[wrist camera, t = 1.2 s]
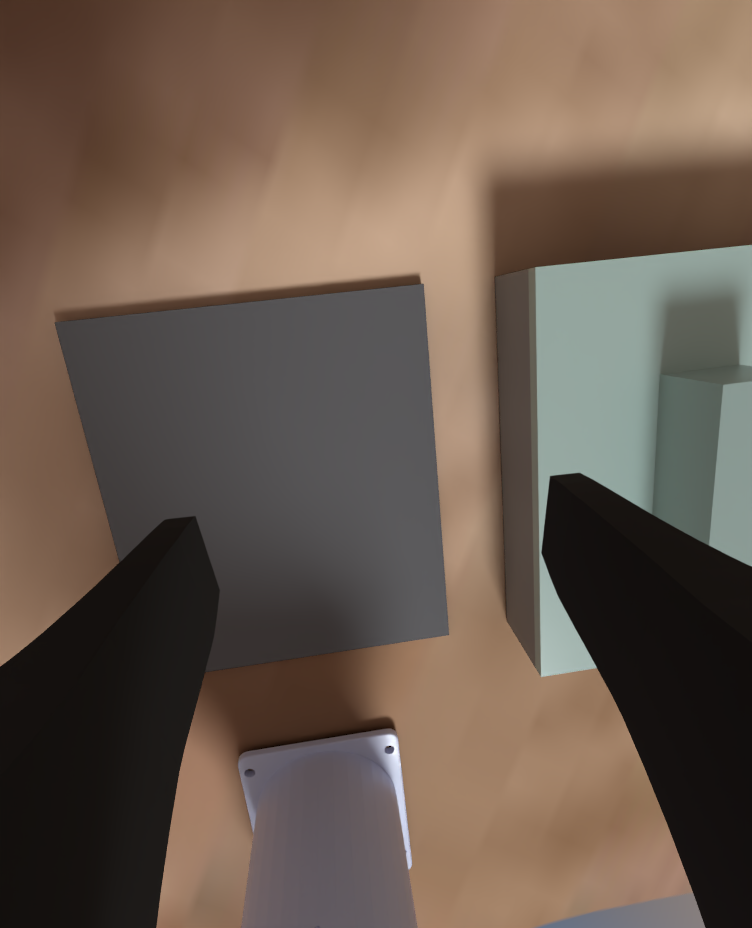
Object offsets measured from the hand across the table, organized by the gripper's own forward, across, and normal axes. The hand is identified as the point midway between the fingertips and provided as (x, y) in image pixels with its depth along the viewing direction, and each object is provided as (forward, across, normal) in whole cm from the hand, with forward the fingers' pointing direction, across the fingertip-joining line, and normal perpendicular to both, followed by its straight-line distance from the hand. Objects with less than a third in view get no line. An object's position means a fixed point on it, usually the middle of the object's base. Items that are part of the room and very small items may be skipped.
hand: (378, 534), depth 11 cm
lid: (+8, -12, +5) cm, 16 cm away
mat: (+10, +4, +6) cm, 12 cm away
